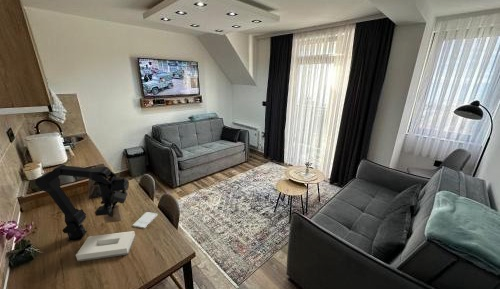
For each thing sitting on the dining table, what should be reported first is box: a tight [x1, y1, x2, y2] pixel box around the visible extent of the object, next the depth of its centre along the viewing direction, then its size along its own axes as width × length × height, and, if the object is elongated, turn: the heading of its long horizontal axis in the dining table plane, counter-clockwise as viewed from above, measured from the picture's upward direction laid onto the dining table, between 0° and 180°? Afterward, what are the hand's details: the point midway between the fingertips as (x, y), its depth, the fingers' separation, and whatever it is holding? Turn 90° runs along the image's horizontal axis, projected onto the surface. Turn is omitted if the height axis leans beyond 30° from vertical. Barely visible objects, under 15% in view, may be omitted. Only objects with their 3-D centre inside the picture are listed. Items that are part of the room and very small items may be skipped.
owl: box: [87, 166, 100, 200], centre depth 150 cm, size 13×13×20 cm
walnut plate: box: [102, 204, 124, 224], centre depth 113 cm, size 8×2×9 cm, turn 102°
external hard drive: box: [131, 211, 158, 229], centre depth 127 cm, size 2×8×12 cm
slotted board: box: [75, 230, 136, 262], centre depth 106 cm, size 22×12×4 cm, turn 102°
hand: (112, 215), depth 113 cm, fingers closed on walnut plate, 2 cm apart
